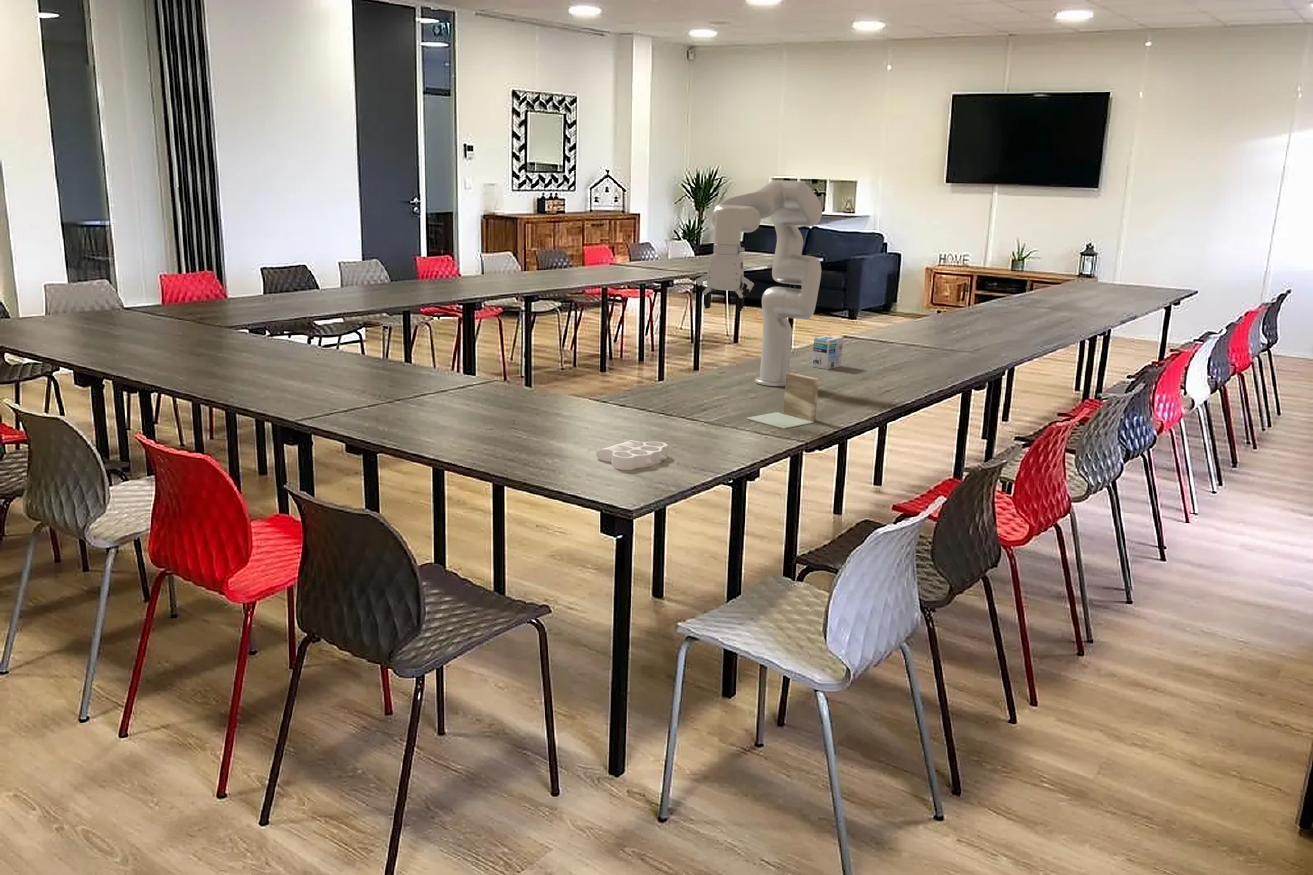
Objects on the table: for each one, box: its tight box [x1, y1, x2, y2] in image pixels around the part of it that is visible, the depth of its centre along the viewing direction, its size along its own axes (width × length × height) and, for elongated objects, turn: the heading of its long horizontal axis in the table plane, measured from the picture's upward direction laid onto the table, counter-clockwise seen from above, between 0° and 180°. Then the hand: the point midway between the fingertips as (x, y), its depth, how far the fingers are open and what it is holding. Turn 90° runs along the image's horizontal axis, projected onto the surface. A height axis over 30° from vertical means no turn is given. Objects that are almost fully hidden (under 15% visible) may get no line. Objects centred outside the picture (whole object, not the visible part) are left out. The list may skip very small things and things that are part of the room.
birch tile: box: [782, 373, 820, 422], centre depth 303 cm, size 2×10×12 cm, turn 43°
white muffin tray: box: [595, 439, 669, 471], centre depth 253 cm, size 3×18×15 cm
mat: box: [745, 411, 815, 430], centre depth 298 cm, size 13×14×1 cm
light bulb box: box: [811, 334, 844, 370], centre depth 383 cm, size 11×7×11 cm, turn 143°
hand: (723, 309), depth 310 cm, fingers open, 9 cm apart
